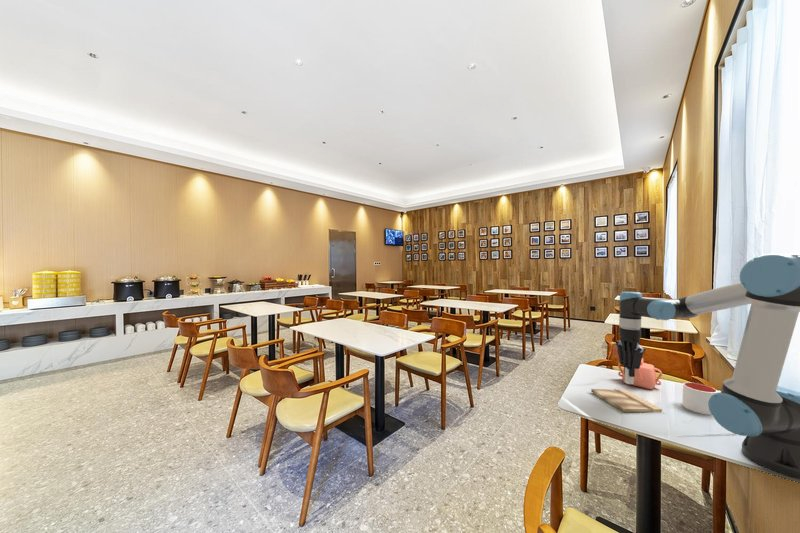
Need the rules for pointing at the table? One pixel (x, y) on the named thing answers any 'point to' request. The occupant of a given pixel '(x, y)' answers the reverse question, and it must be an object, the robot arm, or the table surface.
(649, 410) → the board
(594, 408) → the table surface
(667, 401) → the table surface
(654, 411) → the pad
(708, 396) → the cup
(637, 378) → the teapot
